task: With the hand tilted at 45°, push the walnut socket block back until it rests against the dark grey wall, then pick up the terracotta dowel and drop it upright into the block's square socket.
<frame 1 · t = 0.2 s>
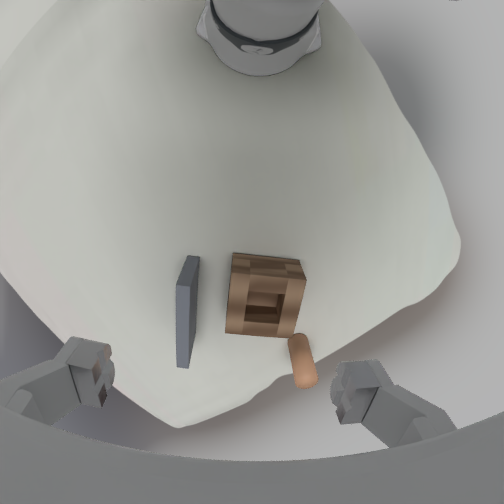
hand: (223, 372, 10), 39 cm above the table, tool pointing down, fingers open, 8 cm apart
dowel: (297, 341, 58), on the table
socket block: (262, 296, 49), point 4 cm above the table, slide at 0.0 cm
wall: (191, 297, 53), on the table
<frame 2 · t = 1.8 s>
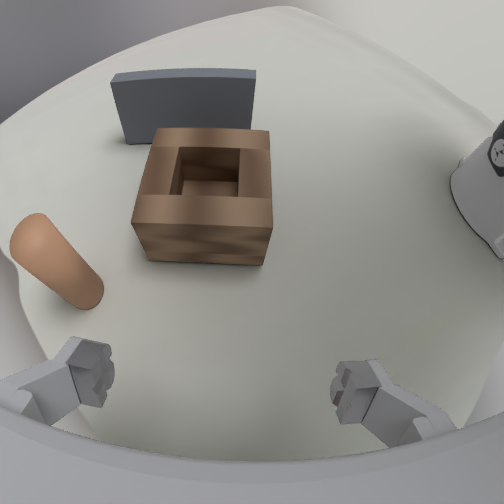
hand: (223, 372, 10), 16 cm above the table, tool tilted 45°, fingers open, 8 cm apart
dowel: (86, 290, 27), on the table
socket block: (207, 193, 28), point 4 cm above the table, slide at 0.0 cm
wall: (187, 137, 37), on the table
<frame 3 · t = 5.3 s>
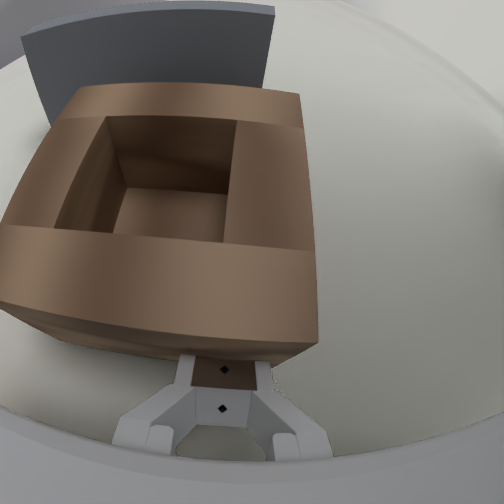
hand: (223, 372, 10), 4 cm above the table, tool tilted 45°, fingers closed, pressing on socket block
socket block: (162, 219, 13), point 4 cm above the table, slide at 1.6 cm, touching gripper
wall: (147, 128, 21), on the table
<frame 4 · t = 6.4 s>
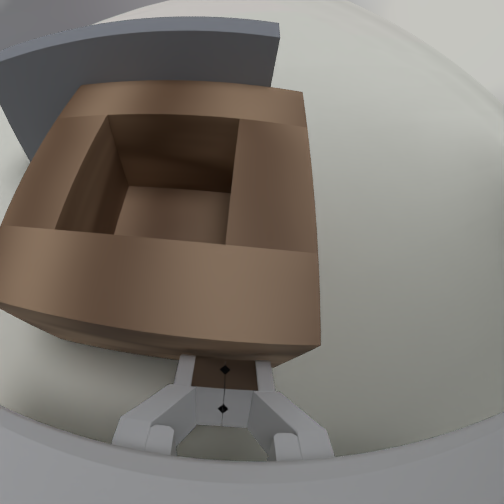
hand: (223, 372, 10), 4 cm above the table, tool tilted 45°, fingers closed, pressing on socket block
socket block: (164, 218, 13), point 4 cm above the table, slide at 5.5 cm, touching gripper, wall
wall: (134, 163, 19), on the table
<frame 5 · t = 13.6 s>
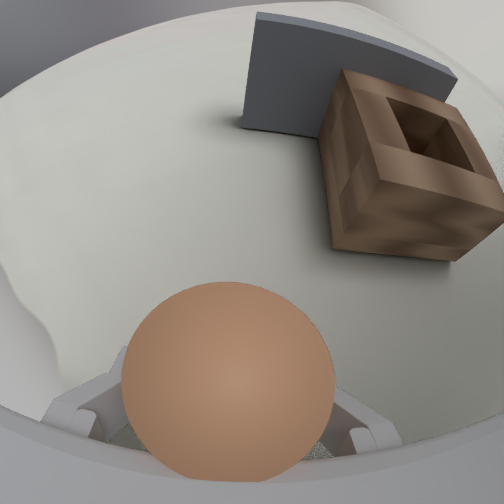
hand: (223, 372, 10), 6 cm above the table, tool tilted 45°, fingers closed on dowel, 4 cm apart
dowel: (219, 391, 15), on the table, touching gripper
socket block: (408, 165, 19), point 4 cm above the table, slide at 5.5 cm
wall: (331, 133, 25), on the table
when the fingers open (15 cm above the table, at t = 18.6 s): dowel drops 6 cm, resting on socket block.
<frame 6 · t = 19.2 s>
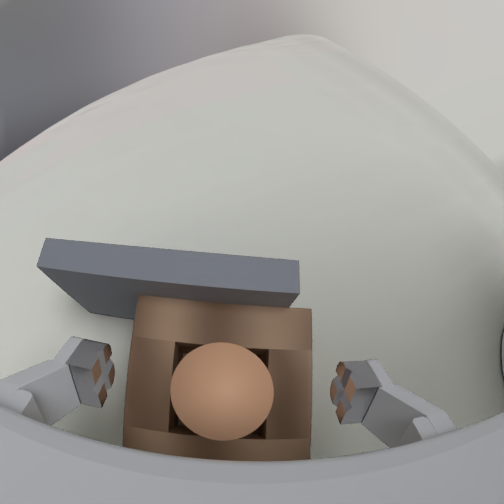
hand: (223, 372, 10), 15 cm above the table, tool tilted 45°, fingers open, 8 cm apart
dowel: (220, 392, 21), point 2 cm above the table, touching socket block
socket block: (218, 392, 19), point 4 cm above the table, slide at 5.5 cm, touching dowel
wall: (176, 313, 25), on the table
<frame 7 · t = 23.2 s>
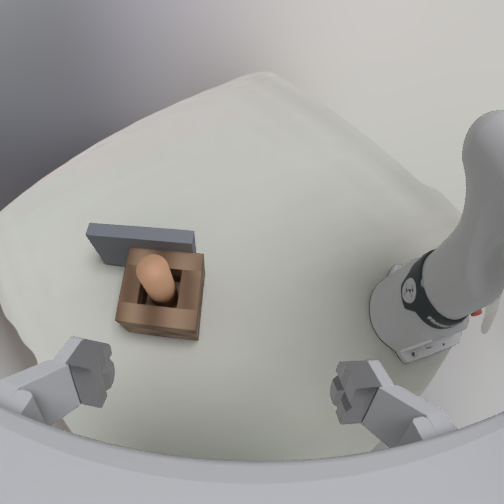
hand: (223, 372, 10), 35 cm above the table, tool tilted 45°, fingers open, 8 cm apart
dowel: (166, 298, 44), point 2 cm above the table, touching socket block
socket block: (163, 294, 43), point 4 cm above the table, slide at 5.5 cm, touching dowel
wall: (149, 263, 49), on the table
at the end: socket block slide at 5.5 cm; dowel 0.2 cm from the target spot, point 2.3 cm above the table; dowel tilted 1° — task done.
